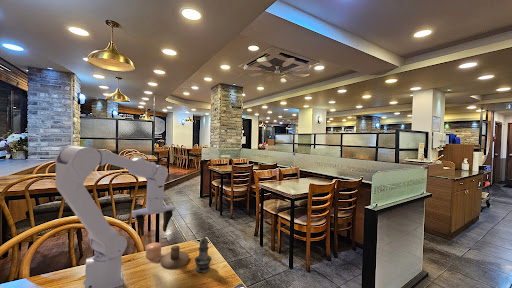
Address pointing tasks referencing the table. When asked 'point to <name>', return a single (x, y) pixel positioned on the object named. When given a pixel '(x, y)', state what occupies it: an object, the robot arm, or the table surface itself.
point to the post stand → (174, 258)
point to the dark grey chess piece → (203, 257)
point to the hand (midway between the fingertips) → (153, 232)
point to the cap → (153, 250)
